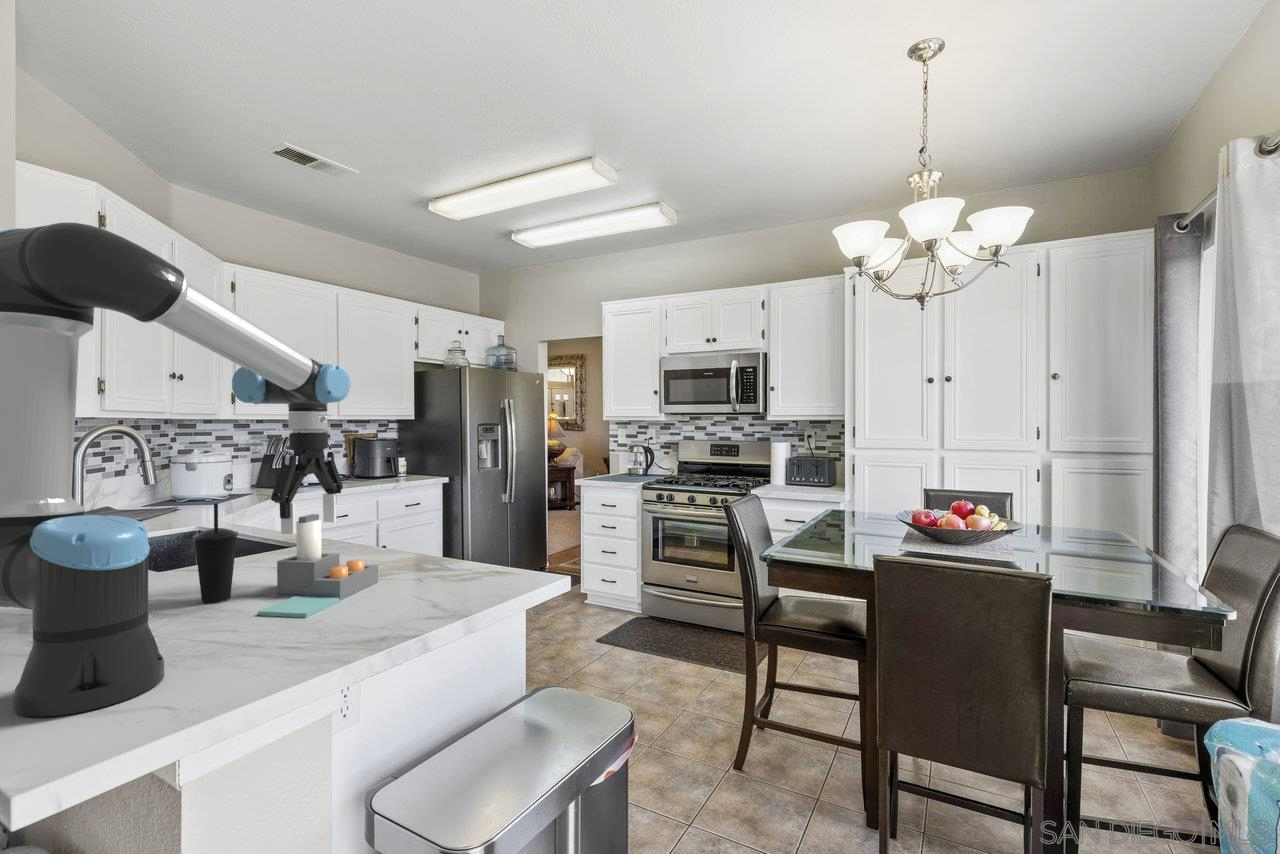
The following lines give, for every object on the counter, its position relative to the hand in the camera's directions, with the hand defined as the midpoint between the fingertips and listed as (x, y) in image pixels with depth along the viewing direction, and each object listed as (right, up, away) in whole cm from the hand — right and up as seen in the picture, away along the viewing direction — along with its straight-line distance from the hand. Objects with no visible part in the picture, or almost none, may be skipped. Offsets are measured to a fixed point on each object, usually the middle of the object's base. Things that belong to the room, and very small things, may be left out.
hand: (310, 527), depth 132 cm
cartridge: (0, -14, 0) cm, 14 cm away
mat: (+6, -14, -14) cm, 20 cm away
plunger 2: (+9, -13, +2) cm, 16 cm away
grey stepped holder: (+3, -14, -1) cm, 14 cm away
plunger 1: (+8, -13, -4) cm, 16 cm away
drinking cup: (-15, -14, -8) cm, 22 cm away
